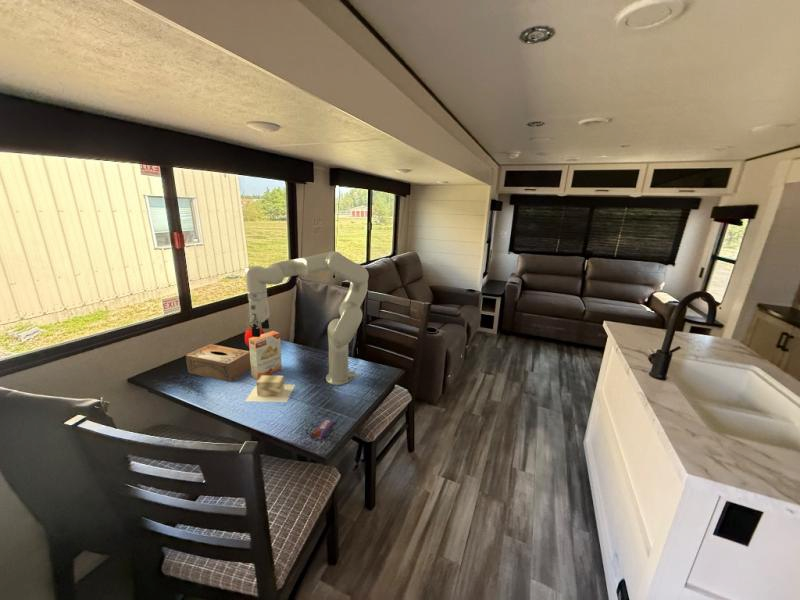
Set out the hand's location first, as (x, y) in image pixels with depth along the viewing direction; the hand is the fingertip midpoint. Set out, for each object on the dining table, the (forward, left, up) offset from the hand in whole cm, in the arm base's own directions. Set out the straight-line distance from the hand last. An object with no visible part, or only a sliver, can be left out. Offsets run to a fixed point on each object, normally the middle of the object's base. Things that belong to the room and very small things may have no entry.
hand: (261, 332), depth 135 cm
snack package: (-32, +28, -29) cm, 51 cm away
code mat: (-4, +3, -29) cm, 29 cm away
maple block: (-4, +3, -28) cm, 29 cm away
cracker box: (+4, -15, -29) cm, 33 cm away
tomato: (+21, -45, -29) cm, 57 cm away
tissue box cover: (+28, -17, -29) cm, 44 cm away
